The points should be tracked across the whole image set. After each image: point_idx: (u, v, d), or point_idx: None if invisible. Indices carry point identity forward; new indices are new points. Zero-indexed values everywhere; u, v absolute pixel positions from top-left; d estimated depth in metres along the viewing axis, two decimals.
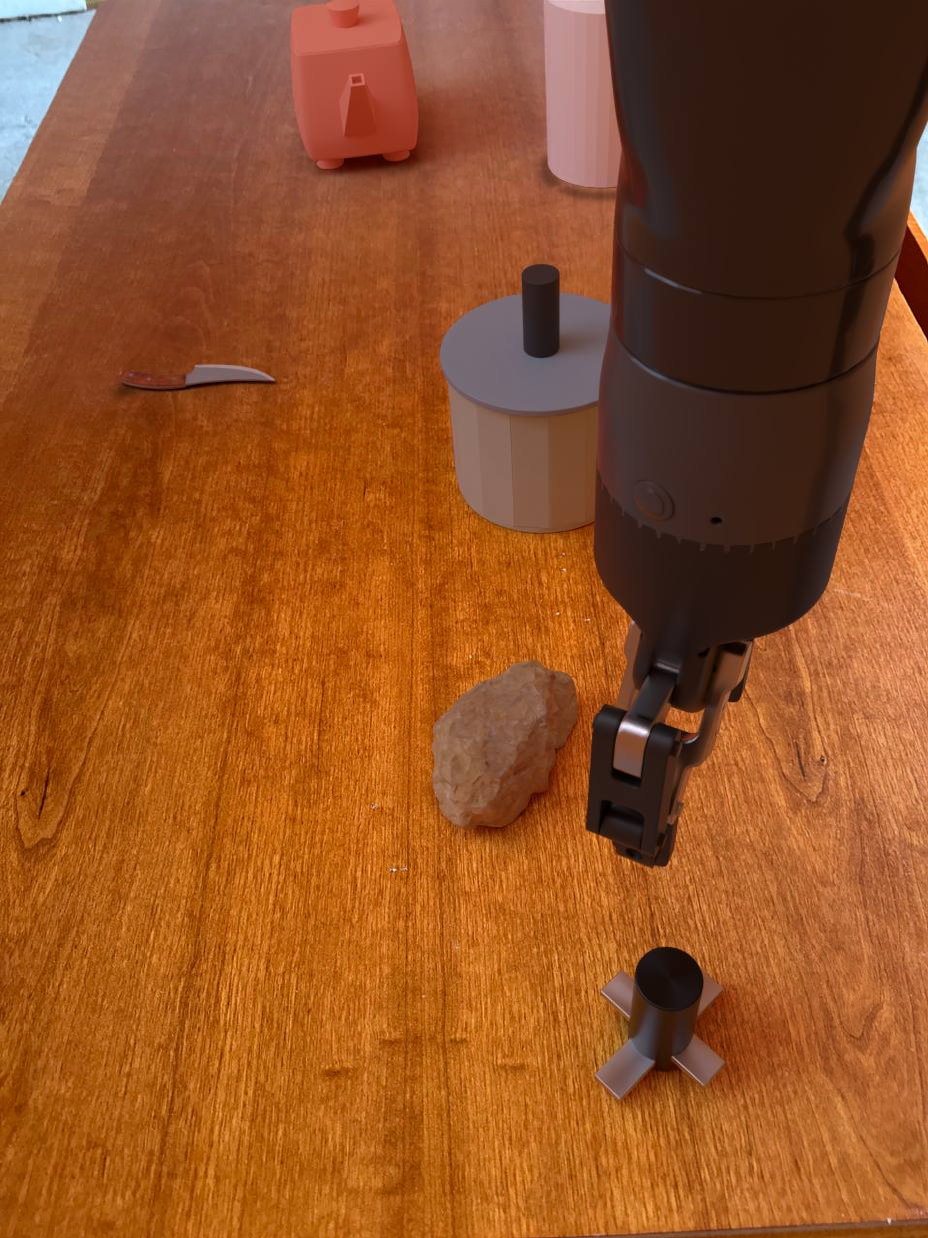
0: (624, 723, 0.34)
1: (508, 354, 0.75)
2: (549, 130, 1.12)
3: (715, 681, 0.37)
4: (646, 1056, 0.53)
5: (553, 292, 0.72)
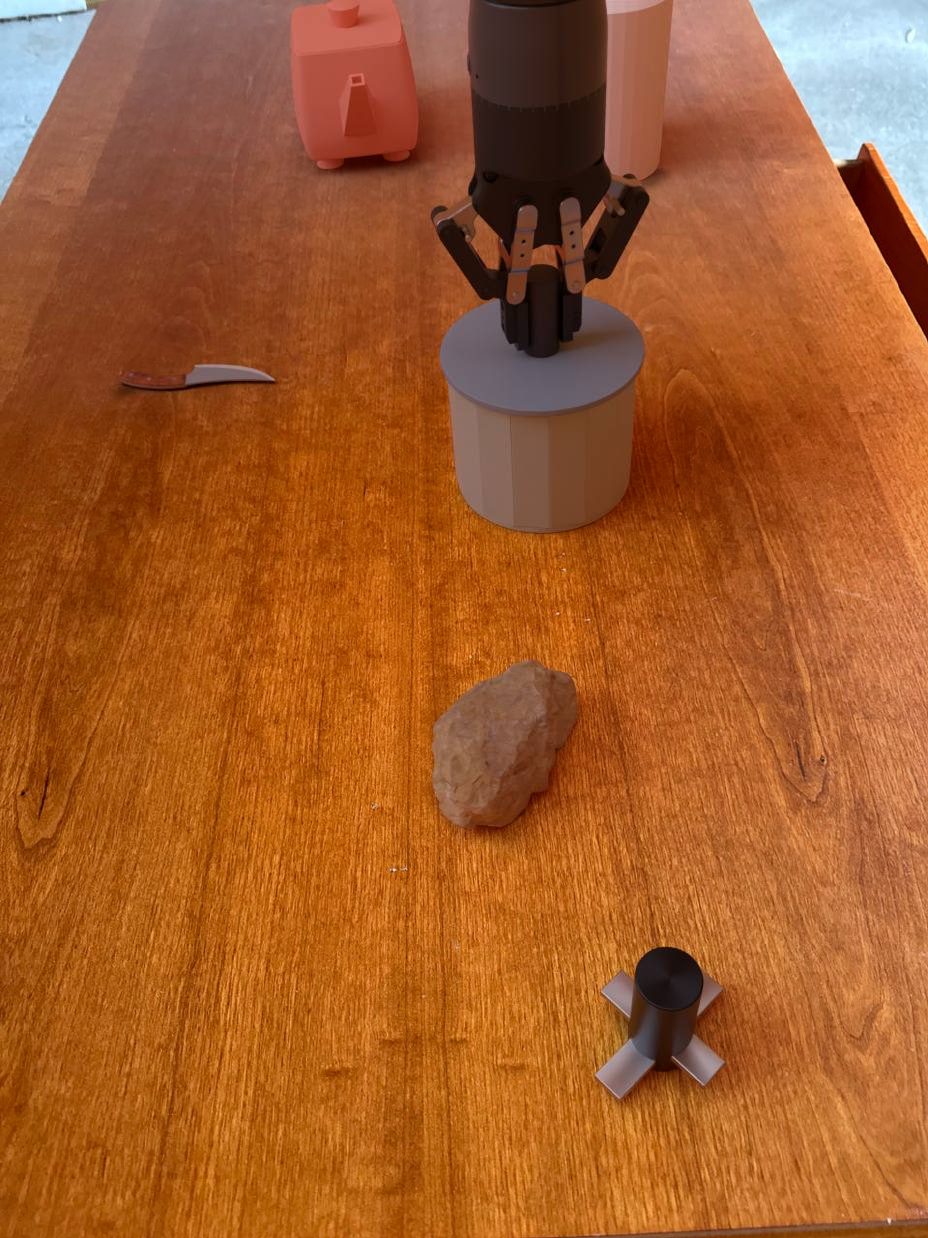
0: (435, 216, 0.68)
1: (508, 354, 0.75)
2: None
3: (513, 224, 0.67)
4: (646, 1056, 0.53)
5: (554, 292, 0.72)
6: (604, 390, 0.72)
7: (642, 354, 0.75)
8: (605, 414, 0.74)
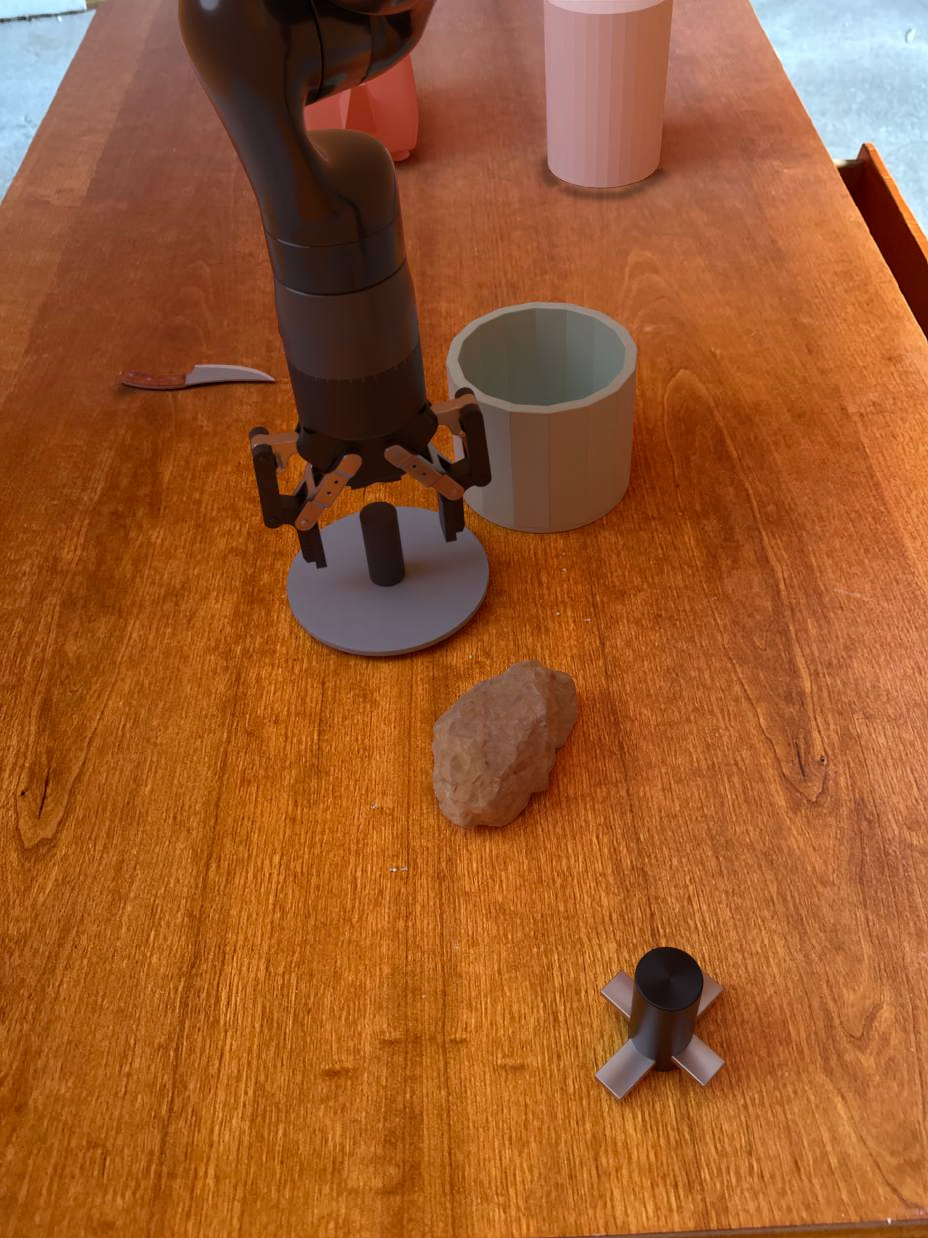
0: (256, 436, 0.66)
1: (354, 582, 0.76)
2: (549, 130, 1.12)
3: (333, 463, 0.67)
4: (646, 1056, 0.53)
5: (391, 532, 0.72)
6: (442, 627, 0.73)
7: (485, 585, 0.75)
8: (605, 414, 0.74)
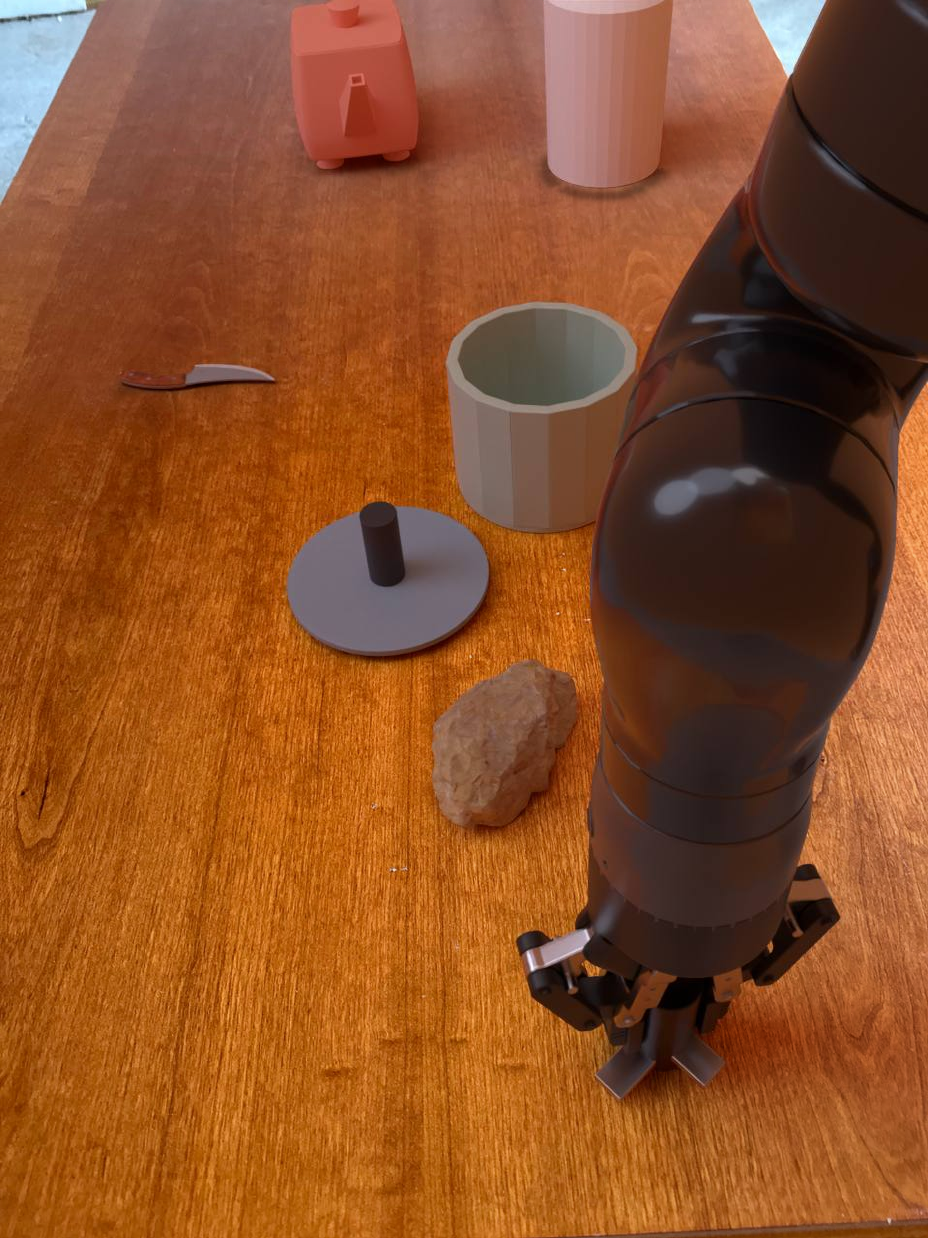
0: (525, 954, 0.46)
1: (354, 582, 0.76)
2: (549, 130, 1.12)
3: (640, 972, 0.46)
4: (646, 1056, 0.53)
5: (391, 532, 0.72)
6: (442, 627, 0.73)
7: (485, 585, 0.75)
8: (605, 414, 0.74)
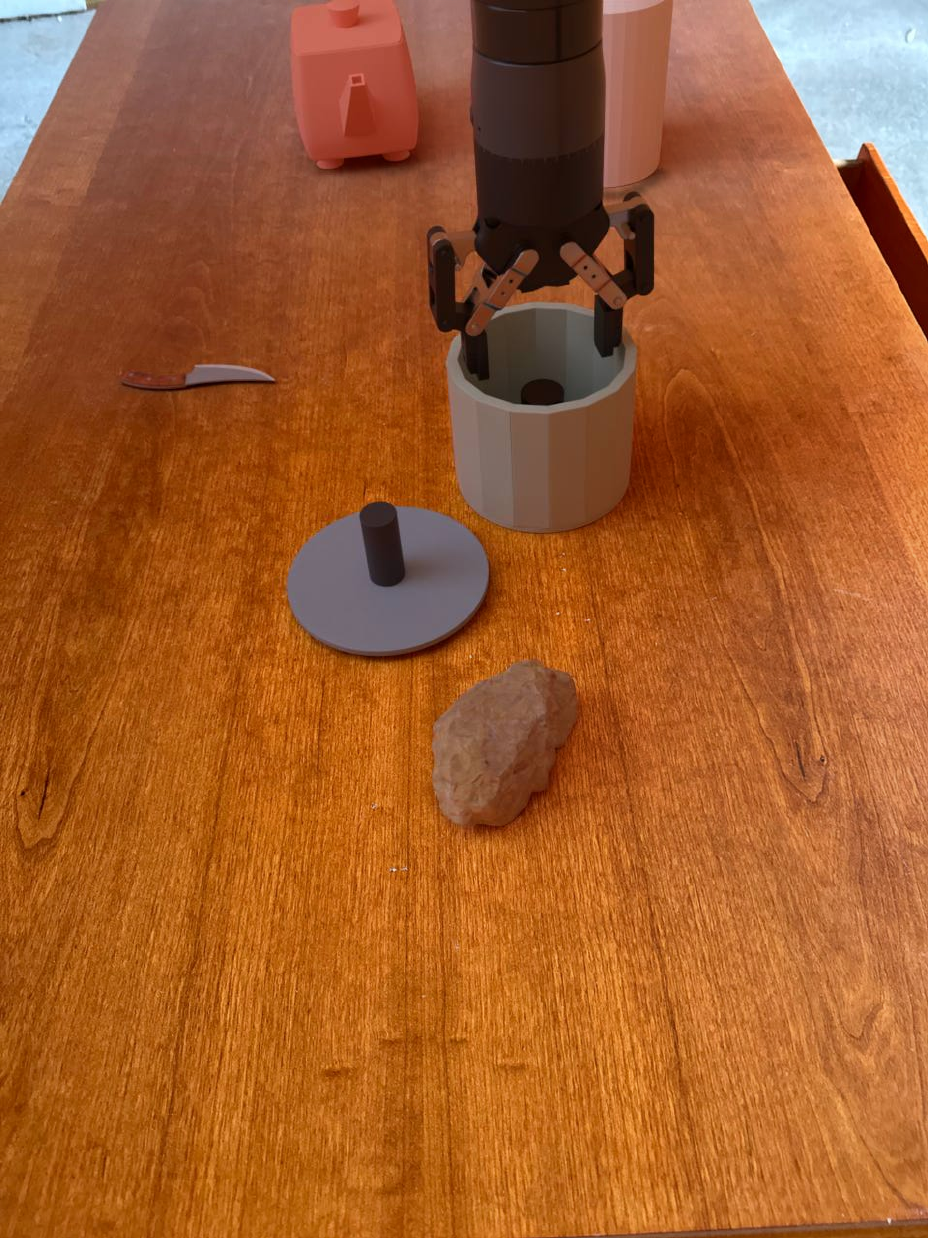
0: (436, 233, 0.69)
1: (354, 582, 0.76)
2: None
3: (509, 261, 0.69)
4: None
5: (391, 532, 0.72)
6: (442, 627, 0.73)
7: (485, 585, 0.75)
8: (605, 414, 0.74)
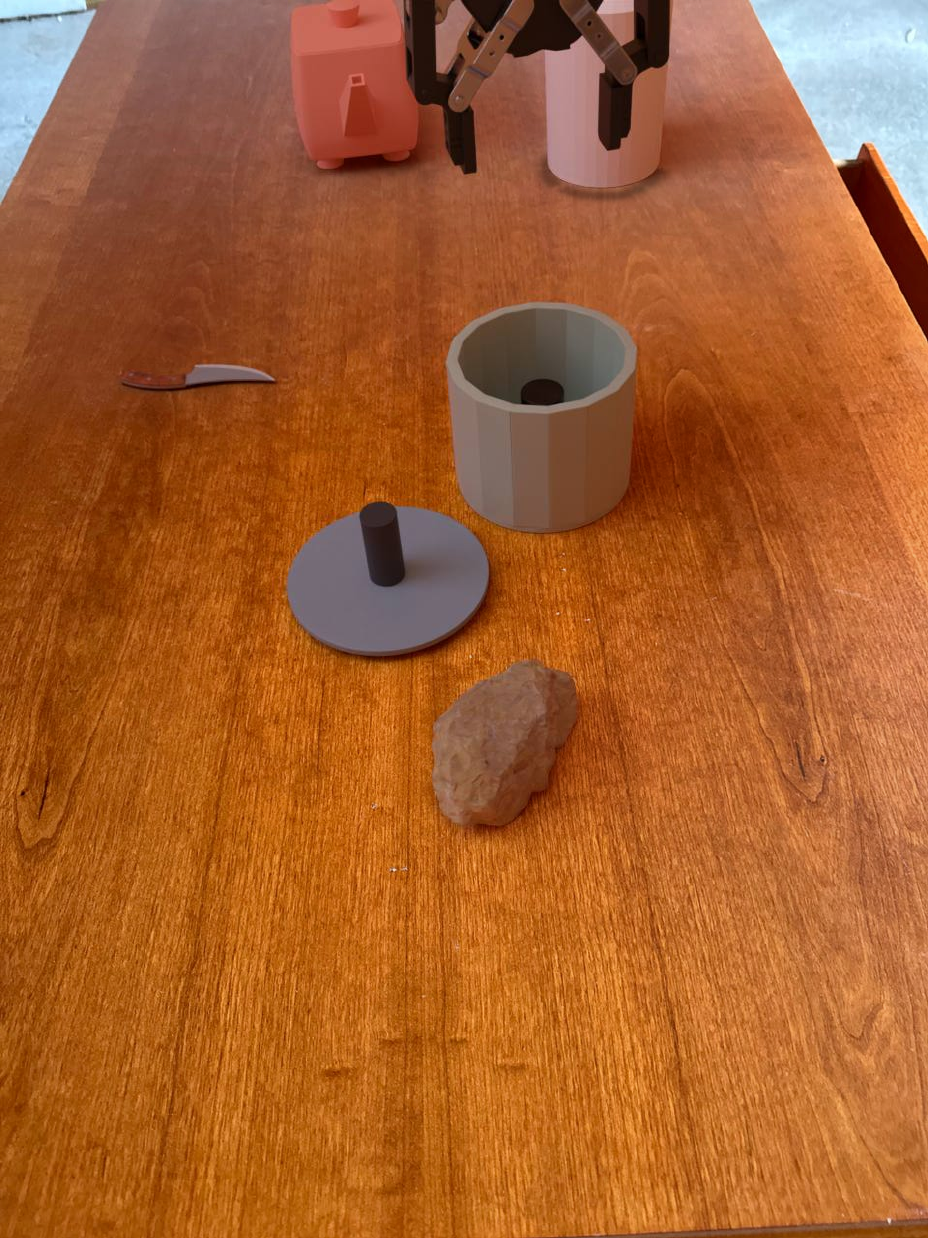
0: None
1: (354, 582, 0.76)
2: (549, 130, 1.12)
3: (500, 11, 0.59)
4: None
5: (391, 532, 0.72)
6: (442, 627, 0.73)
7: (485, 585, 0.75)
8: (605, 414, 0.74)
